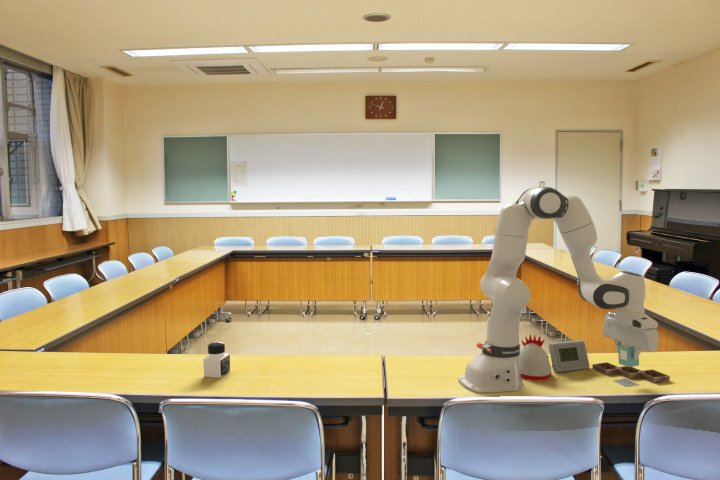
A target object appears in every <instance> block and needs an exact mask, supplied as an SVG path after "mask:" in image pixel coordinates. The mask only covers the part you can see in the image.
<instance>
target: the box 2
mask: <svg viewBox="0 0 720 480" xmlns="http://www.w3.org/2000/svg"><path fill="white" fill-rule="evenodd" d="M618 368H622V370H620V369H618ZM615 369H618V374H617V375H619V376H621V377H623V378H625V379H628V380H635V379H642V378H641V373H644V374H645V372H644V370H640V369H638V368H637V367H635V366H633V367H628V366H624V365H622V366H617V367H616V368H615ZM638 371H642V372H641V373H640V372H639V373H638Z"/></svg>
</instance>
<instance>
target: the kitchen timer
mask: <svg viewBox="0 0 720 480" xmlns="http://www.w3.org/2000/svg"><path fill="white" fill-rule="evenodd" d="M521 343H522V346H520V354H519V368H520V374H521V379H522V380H523V379H524V380H529V381H535V380H536V381H537V382H540V381H539V380H541V381H546V379H547V380H549V378H550V377H551V378H552V365H551V364H550V363H551V361H550V355H549V354H547V353H546V351H545V350H544V349H543V347H542V346H543V344H544V343H545V339H541V335H539V337H538V338H536V334H534V336H533V339H532V334H531V333H530V334H529V338H528V337H527V336H525V342H524V340H523V339H521ZM536 381H535V382H536Z"/></svg>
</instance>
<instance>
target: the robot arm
mask: <svg viewBox="0 0 720 480" xmlns="http://www.w3.org/2000/svg"><path fill="white" fill-rule="evenodd" d="M535 219H536V220H550V219H552V220H553V222H555V224H556V226H557V229H558V230H559V233H560V235H561V238H562V240H563V243H564V244H565V246H566V248H567V250H568V252H569V254H570V256H571V261H572V263H573V266H574V268H575V271H576V274H577V278H578V286H577V288H578V289H577V291H578V295H579V296H580V298H581V299H582V300H583V301H584V302H587V303H589V304H592V305H593V306H595V307H597V308H599V309H602V310H614V311H615V312H614V313H613V312H611V311H609V312H606V314H605V315H604V320H603V326H602V335H603V337H606V338H608V339H611V340H614V345H615V346H616V348H617V351H616V352H617V353H618V346H619V345H623V344H624V345H626V344H628V345H631V346H633V347H634V350H636V351H635V352H634V353H632V356H631V357H632V358H633V359H635V360H637V359H639V360H640V355H641V353H642V351H645V352H656V351H657V350H658V349H659V332H658V330H657V329H656V328H658V327H659V323H658V321H656V320H655V319H653V318H652V317H651V316H649V315H647V313H645V311H646V310H645V305H644V303H645V300H646V283H645V282H646V281H645V278H644V276H642V275H641V274H639V273H637V272H636V273H635V272H632V271H627V270H626V271H625V270H621V271H619V272H618V273H617V274H615V275H613V276H611V277H609V278H606V279H603V278H602V277H601V276H600V275H599V274H598V272H597V270H596V267H595V264H594V261H593V259H592V256H591V250H592V248H593V247H594V246H595V245H596V243H597V241H598V234H597V228H596V226H595V223H594V221H593V219H592V217H591V215H590V213H589V210H588V209H587V207H586V205H585V203H584V202H583V200H581V198H580V197H579V196H576V195H566V196H565V195H563V193H561V192H560V191H558V190H557V189H556V188H553V187H549V186H537V187H531V188H529V189H526V190H525V191H523V193H521V195H520V196H519V198H518V199H517V200H516V202H515V203H508V204H506V205H504V206H503V207H502V208H501V209H500V212H499V215H498V219H497V221H496V225H495V226H496V227H495V232H494V237H493V238H494V239H493V246H492V253H491V257H490V261H489V263H488V265H487V269H486V271H485V273H484V275H482V276H481V278H480V283H479V284H480V290H481V291H482V293H483V294H484V295H485V297H486V298H487V299H489V300H491V301H492V308H491V311H490V314H489V317H488V318H487V321H486V340H485V342H484V344H483V343H481V342H480V341H479V342H477V343H476V347H477V348H478V349H480V350H481V352H480V353H479V354H477V355H476V356H475V357H474V358H472V359H471V360H470V361H469V362H467V364H466V367H465V370H464V371H465V372H464V374H461V375H458V382H459V383H460V384H461V385H462V386H463V387H464V388H467V389H468V390H470V391H472V392H474V393H477V394H478V393H481V394H482V393H505V392H519V391H520V388H521V386H522V385H523V382H524V381H523V378H521V374H520V368H519V354H520V348H521V344H520V324H521V322H520V321H521V318H522V315H523V311H524V309H525V307H526V306H527V305H528V304H529V302H530V300H531V290H530V288H529V286H528V285H527V284H526V283H525V282H524V281H523V280H522V279H520V278H519V277H516V276H517V272H518V270H519V268H520V266H521V264H522V263H523V262H524V261H525V258H526V253H527V245H528V236H529V229H530V225H531V223H532V222H533V221H534V220H535Z"/></svg>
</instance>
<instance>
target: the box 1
mask: <svg viewBox="0 0 720 480" xmlns="http://www.w3.org/2000/svg"><path fill="white" fill-rule="evenodd" d="M591 367H592V370H594V371H596V372H598V373H601V374H603V375H604V376H611V375H612V376H613V375H619V374H618V369H620V370H622V368H618V369H615V368H616V367H618V366H617V365H615V364H613V363H610V362H608V361H607V362H606V361H605V362H601V363H600V362H599V363H592V366H591Z"/></svg>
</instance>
